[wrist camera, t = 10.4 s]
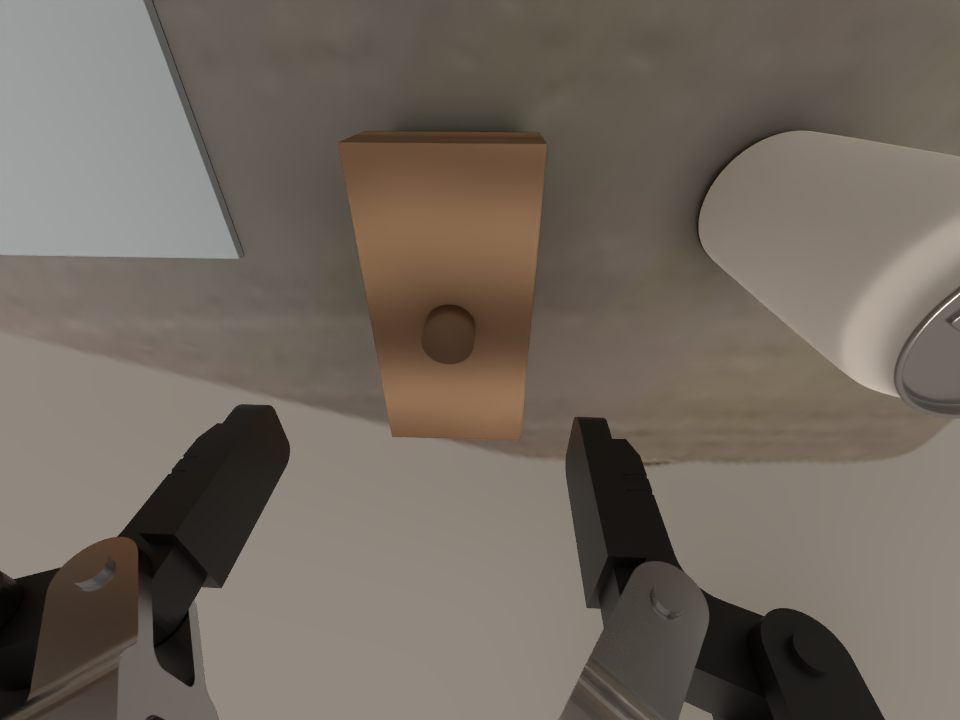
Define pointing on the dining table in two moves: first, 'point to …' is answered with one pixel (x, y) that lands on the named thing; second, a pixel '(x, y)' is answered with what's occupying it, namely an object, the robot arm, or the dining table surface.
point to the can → (850, 255)
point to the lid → (448, 272)
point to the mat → (101, 138)
